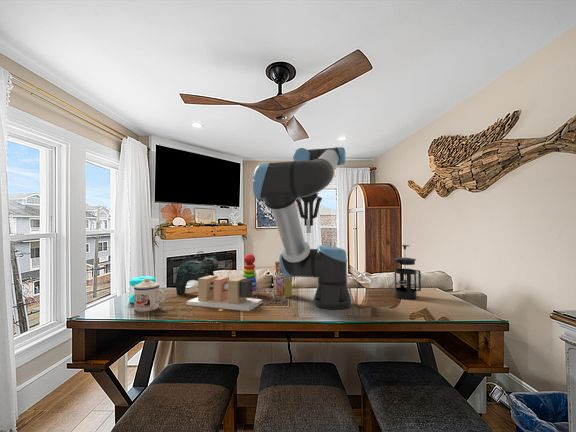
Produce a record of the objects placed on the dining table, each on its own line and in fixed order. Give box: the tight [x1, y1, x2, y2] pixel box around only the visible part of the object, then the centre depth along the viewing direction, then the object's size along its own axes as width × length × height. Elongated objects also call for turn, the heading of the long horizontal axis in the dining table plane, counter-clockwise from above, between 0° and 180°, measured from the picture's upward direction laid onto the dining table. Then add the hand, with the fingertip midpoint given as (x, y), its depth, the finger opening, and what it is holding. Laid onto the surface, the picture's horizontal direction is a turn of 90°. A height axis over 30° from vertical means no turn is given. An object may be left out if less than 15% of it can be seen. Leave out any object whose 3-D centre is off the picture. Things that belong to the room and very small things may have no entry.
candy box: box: [274, 260, 293, 299], centre depth 134 cm, size 9×4×15 cm, turn 29°
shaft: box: [210, 280, 252, 298], centre depth 120 cm, size 21×5×6 cm, turn 71°
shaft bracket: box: [186, 275, 263, 312], centre depth 120 cm, size 28×12×10 cm, turn 71°
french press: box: [394, 244, 422, 301], centre depth 130 cm, size 12×9×23 cm
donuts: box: [128, 275, 156, 304], centre depth 126 cm, size 10×10×10 cm
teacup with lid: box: [133, 278, 166, 313], centre depth 114 cm, size 12×9×12 cm
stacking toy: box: [242, 253, 258, 297], centre depth 137 cm, size 8×8×19 cm
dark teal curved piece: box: [175, 251, 219, 295], centre depth 138 cm, size 20×6×20 cm, turn 81°
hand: (308, 232), depth 139 cm, fingers closed
